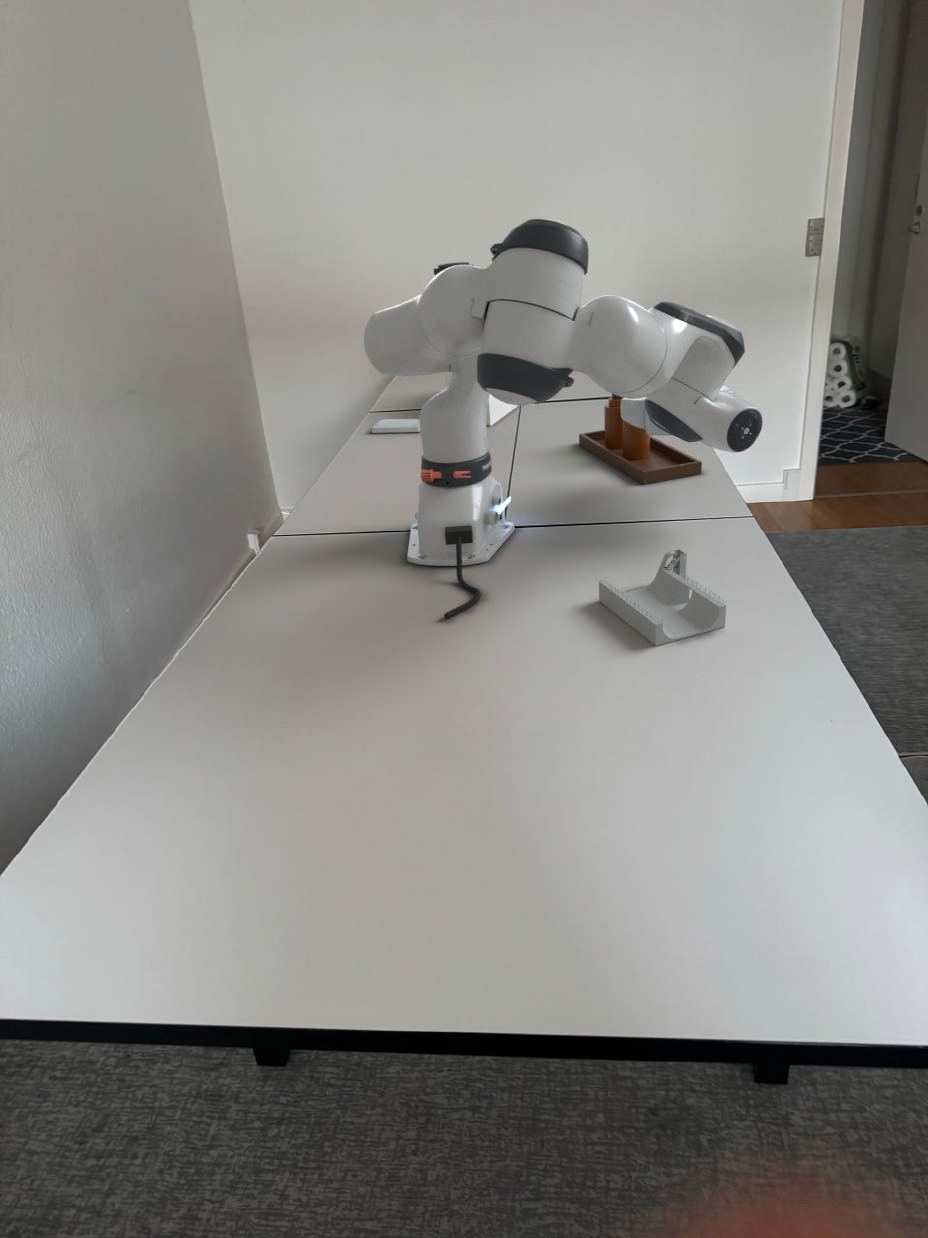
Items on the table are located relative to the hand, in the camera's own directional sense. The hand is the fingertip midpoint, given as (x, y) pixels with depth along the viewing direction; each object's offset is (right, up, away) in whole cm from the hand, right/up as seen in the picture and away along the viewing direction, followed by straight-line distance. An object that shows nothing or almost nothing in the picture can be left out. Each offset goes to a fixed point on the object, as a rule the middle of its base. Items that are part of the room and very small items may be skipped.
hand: (657, 394), depth 156 cm
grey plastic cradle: (-8, -41, -40) cm, 58 cm away
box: (-30, +16, +72) cm, 80 cm away
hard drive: (-53, +7, +60) cm, 80 cm away
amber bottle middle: (0, -7, +21) cm, 23 cm away
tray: (0, -8, +22) cm, 23 cm away
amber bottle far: (-2, -3, +29) cm, 29 cm away
